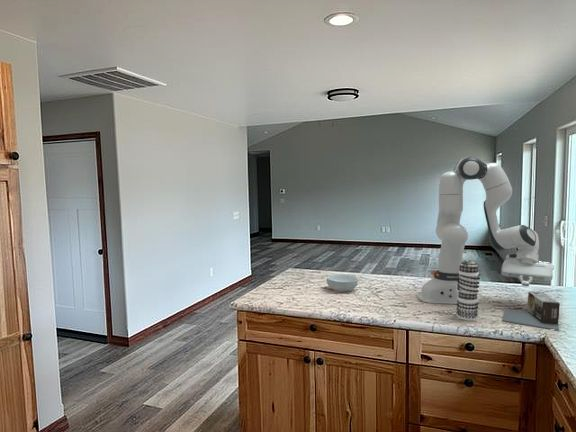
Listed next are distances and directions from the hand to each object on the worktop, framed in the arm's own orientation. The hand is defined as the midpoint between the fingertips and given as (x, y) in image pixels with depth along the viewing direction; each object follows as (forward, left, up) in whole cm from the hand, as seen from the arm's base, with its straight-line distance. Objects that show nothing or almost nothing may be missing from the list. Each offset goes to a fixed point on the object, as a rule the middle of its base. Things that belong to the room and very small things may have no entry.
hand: (525, 285), depth 179 cm
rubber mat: (-4, -10, -12) cm, 16 cm away
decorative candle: (-29, -5, -13) cm, 32 cm away
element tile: (-11, +52, -13) cm, 54 cm away
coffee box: (+4, -1, -7) cm, 8 cm away
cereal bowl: (-76, +40, -13) cm, 87 cm away
